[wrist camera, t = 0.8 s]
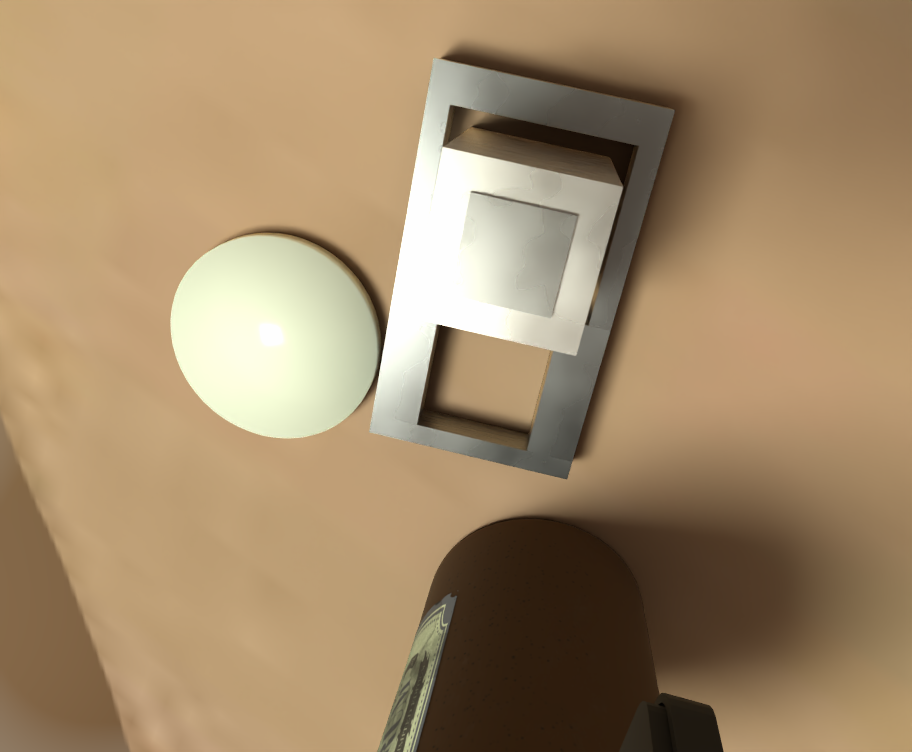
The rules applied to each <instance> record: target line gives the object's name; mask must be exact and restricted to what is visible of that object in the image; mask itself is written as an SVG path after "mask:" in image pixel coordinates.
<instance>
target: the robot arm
mask: <svg viewBox="0 0 912 752" xmlns="http://www.w3.org/2000/svg"><path fill="white" fill-rule="evenodd" d="M619 752H723V747H722V743H721V738H720V734H719V730H718V725H717V721H716V717H715V714H714V711H713V709H712V708H711V707H710V706H709V705H706V704H702V703H699V702H695V701H691V700H688V699H684V698H680V697H677V696H673V695H669V694H666V693H661V694H660V695H659V696H658V697H657V699H656V701H655V703H654V704H653V703H649V702H646V701H642V702H641V703H640V704H639V706H638V708H637V710H636V712H635V715H634V717H633V720H632V722H631V724H630V727H629V729H628V731H627V734H626V736H625V739H624V741H623V743H622V746H621V748H620V750H619Z"/></svg>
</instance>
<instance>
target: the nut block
mask: <svg viewBox="0 0 912 752" xmlns="http://www.w3.org/2000/svg"><path fill="white" fill-rule="evenodd" d="M622 189H623V186H622V183H621V181H620V179H619V176H618V174H617V172H616V170H615V167H614V165H613V163H612V160H611V158H610V157H606V156H602V155H597V154H593V153H588V152H584V151H579V150H575V149H570V148H566V147H561V146H556V145H552V144H547V143H543V142H538V141H534V140H529V139H525V138H520V137H515V136H511V135H506V134H502V133H497V132H493V131H488V130H484V129H479V128H474V127H470V128H469V129H468V130H466V131H465V132H463V133H462V134H460V135H459V136H458V137H456V138H455V139H453V140H452V141H450V142H449V143H448V144H446V145H445V146H443V147H442V153H441V158H440V164H439V169H438V174H437V180H436V185H435V191H434V196H433V202H432V207H431V213H430V218H429V223H428V229H427V234H426V240H425V245H424V251H423V256H422V261H421V267H420V272H419V278H418V283H417V289H416V294H415V300H414V305H413V310H412V316H411V318H414V319H419V320H423V321H427V322H432V323H436V324H440V325H445V326H449V327H453V328H457V329H462V330H466V331H470V332H475V333H479V334H483V335H488V336H492V337H496V338H500V339H505V340H509V341H513V342H518V343H522V344H526V345H531V346H535V347H539V348H544V349H548V350H552V351H556V352H561V353H565V354H569V355H574V356H576V355H577V351H578V347H579V344H580V340H581V337H582V333H583V329H584V326H585V322H586V319H587V315H588V311H589V308H590V304H591V301H592V297H593V293H594V290H595V286H596V283H597V279H598V275H599V272H600V268H601V265H602V261H603V257H604V254H605V250H606V247H607V243H608V239H609V236H610V232H611V229H612V225H613V221H614V218H615V214H616V211H617V207H618V203H619V200H620V196H621V193H622Z"/></svg>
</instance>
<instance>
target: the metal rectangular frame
mask: <svg viewBox="0 0 912 752" xmlns="http://www.w3.org/2000/svg"><path fill="white" fill-rule="evenodd" d="M455 106H459V107H464V108H469V109H473V110H478V111H482V112H487V113H491V114H496V115H500V116H505V117H510V118H514V119H519V120H523V121H528V122H532V123H537V124H542V125H546V126H551V127H555V128H560V129H564V130H569V131H574V132H578V133H583V134H587V135H592V136H596V137H601V138H606V139H610V140H615V141H619V142H624V143H628V144H633V145H634V149H633V152H632V156H631V160H630V163H629V167H628V170H627V174H626V178H625V181H624V185H623V189H622V193H621V196H620V200H619V203H618V207H617V211H616V214H615V218H614V221H613V225H612V229H611V232H610V236H609V239H608V243H607V247H606V250H605V254H604V257H603V261H602V265H601V268H600V272H599V275H598V279H597V283H596V286H595V290H594V293H593V297H592V301H591V304H590V308H589V311H588V315H587V319H586V322H585V326H584V329H583V333H582V337H581V340H580V344H579V347H578V351H577V355H576V356H574V355H569V354H565V353H561V352H556V351H552V350H551V351H550V354H549V358H548V362H547V366H546V370H545V373H544V377H543V381H542V385H541V389H540V392H539V396H538V400H537V404H536V408H535V411H534V415H533V419H532V423H531V427H530V430H529V434H526V433H522V432H517V431H513V430H509V429H505V428H501V427H496V426H492V425H488V424H484V423H480V422H475V421H471V420H467V419H463V418H458V417H454V416H450V415H446V414H442V413H437V412H433V411H429V410H425V409H423V408H424V403H425V398H426V393H427V388H428V383H429V378H430V373H431V368H432V363H433V358H434V353H435V348H436V343H437V338H438V333H439V328H440V324H436V323H432V322H427V321H423V320H419V319H414V318H411V316H412V310H413V305H414V300H415V294H416V289H417V283H418V278H419V272H420V267H421V261H422V256H423V251H424V245H425V240H426V234H427V229H428V223H429V218H430V213H431V207H432V202H433V196H434V191H435V185H436V180H437V174H438V169H439V164H440V158H441V153H442V147H443V146H445V145H446V144H448V141H449V136H450V131H451V125H452V120H453V115H454V109H455ZM674 112H675V110H674V109H671V108H669V107H664V106H660V105H655V104H651V103H646V102H641V101H637V100H632V99H627V98H623V97H618V96H614V95H609V94H604V93H600V92H595V91H590V90H586V89H581V88H577V87H572V86H567V85H563V84H558V83H553V82H549V81H544V80H540V79H535V78H530V77H526V76H521V75H517V74H512V73H507V72H503V71H498V70H493V69H489V68H484V67H480V66H475V65H470V64H466V63H461V62H456V61H452V60H447V59H443V58H434V59H433V65H432V71H431V77H430V82H429V88H428V94H427V100H426V106H425V111H424V117H423V123H422V129H421V135H420V141H419V146H418V152H417V158H416V164H415V170H414V175H413V181H412V187H411V193H410V199H409V204H408V210H407V216H406V222H405V228H404V233H403V239H402V245H401V251H400V257H399V262H398V268H397V274H396V280H395V286H394V291H393V297H392V303H391V309H390V315H389V320H388V326H387V332H386V338H385V344H384V349H383V355H382V361H381V367H380V373H379V379H378V384H377V390H376V396H375V402H374V408H373V413H372V419H371V425H370V431H369V432H371V433H375V434H379V435H384V436H388V437H392V438H396V439H400V440H405V441H409V442H413V443H417V444H421V445H425V446H430V447H434V448H438V449H442V450H446V451H450V452H455V453H459V454H463V455H467V456H471V457H476V458H480V459H484V460H488V461H492V462H496V463H501V464H505V465H509V466H513V467H517V468H521V469H526V470H530V471H534V472H538V473H542V474H547V475H551V476H555V477H559V478H563V479H567V478H568V474H569V471H570V468H571V464H572V461H573V457H574V454H575V450H576V447H577V444H578V440H579V437H580V433H581V430H582V427H583V423H584V420H585V416H586V413H587V409H588V406H589V403H590V399H591V396H592V392H593V389H594V386H595V382H596V379H597V375H598V372H599V368H600V365H601V362H602V358H603V355H604V351H605V348H606V345H607V341H608V338H609V334H610V331H611V327H612V324H613V321H614V317H615V314H616V310H617V307H618V304H619V300H620V297H621V293H622V290H623V287H624V283H625V280H626V276H627V273H628V269H629V266H630V263H631V259H632V256H633V252H634V249H635V246H636V242H637V239H638V235H639V232H640V228H641V225H642V222H643V218H644V215H645V211H646V208H647V205H648V201H649V198H650V194H651V191H652V187H653V184H654V181H655V177H656V174H657V170H658V167H659V164H660V160H661V157H662V153H663V150H664V146H665V143H666V140H667V136H668V133H669V129H670V126H671V123H672V119H673V116H674Z"/></svg>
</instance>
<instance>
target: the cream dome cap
mask: <svg viewBox="0 0 912 752" xmlns="http://www.w3.org/2000/svg"><path fill="white" fill-rule="evenodd" d="M171 336H172V343H173V348H174V351H175V355H176V358H177V361H178V363H179V365H180V368H181V370H182V372H183V374H184V376H185V377H186V379H187V381H188V383H189V384H190V385H191V387H192V388H193V390H194V391H195V392H196V394H197V395H198V396H199V397H200V398H201V399H202V400H203V401H204V403H206V404H207V405H208V406H209V407H210V408H211V409H212V410H213V411H214V412H216V413H217V414H219V415H220V416H221V417H223V418H224V419H225V420H227V421H229V422H231V423H232V424H234V425H236V426H238V427H240V428H243V429H245V430H247V431H250V432H253V433H256V434H259V435H263V436H269V437H274V438H301V437H306V436H311V435H315V434H318V433H321V432H324V431H326V430H328V429H330V428H332V427H334V426H336V425H337V424H339V423H340V422H342V421H343V420H345V419H346V418H347V417H348V416H349V415H350V414H351V413H352V412H353V411H354V410H355V409H356V408H357V407H358V405H359V404H360V403H361V402H362V400H363V398H364V397H365V395H366V393H367V392H368V390H369V388H370V387H371V385H372V383H373V381H374V378H375V376H376V373H377V370H378V366H379V362H380V355H381V332H380V326H379V321H378V317H377V314H376V311H375V308H374V306H373V303H372V301H371V299H370V297H369V295H368V293H367V291H366V290H365V288H364V287H363V285H362V283H361V282H360V281H359V279H358V278H357V277H356V276H355V274H354V273H353V272H352V271H351V270H350V269H349V268H348V267H347V266H346V265H345V264H344V263H343V262H342V261H341V260H340V259H338V258H337V257H336V256H334V255H333V254H332V253H330V252H329V251H327V250H325V249H324V248H322V247H320V246H319V245H317V244H314V243H312V242H310V241H308V240H305V239H302V238H299V237H296V236H292V235H287V234H281V233H264V232H263V233H254V234H248V235H244V236H240V237H236V238H234V239H232V240H229V241H227V242H225V243H223V244H221V245H219V246H217V247H215V248H214V249H212V250H211V251H209V252H207V253H206V254H204V255H203V256H202V257H201V258H200V259H198V260H197V261H196V262H195V263H194V264H193V266H192V267H191V268H190V269H189V270H188V271H187V273H186V274H185V276H184V278H183V279H182V281H181V282H180V285H179V287H178V289H177V292H176V294H175V298H174V301H173V305H172V312H171Z"/></svg>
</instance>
